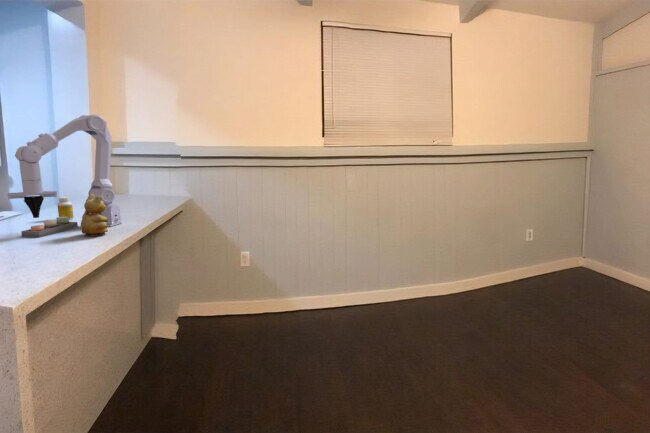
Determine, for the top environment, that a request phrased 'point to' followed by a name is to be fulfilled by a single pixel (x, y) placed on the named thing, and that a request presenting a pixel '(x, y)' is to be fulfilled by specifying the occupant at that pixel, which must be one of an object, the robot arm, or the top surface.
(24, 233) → the panel
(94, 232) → the decorative figurine
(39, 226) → the terracotta button
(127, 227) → the top surface
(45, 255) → the top surface
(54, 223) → the ivory button
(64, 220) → the sage button
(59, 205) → the supplement bottle
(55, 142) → the robot arm
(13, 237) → the top surface
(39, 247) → the top surface
